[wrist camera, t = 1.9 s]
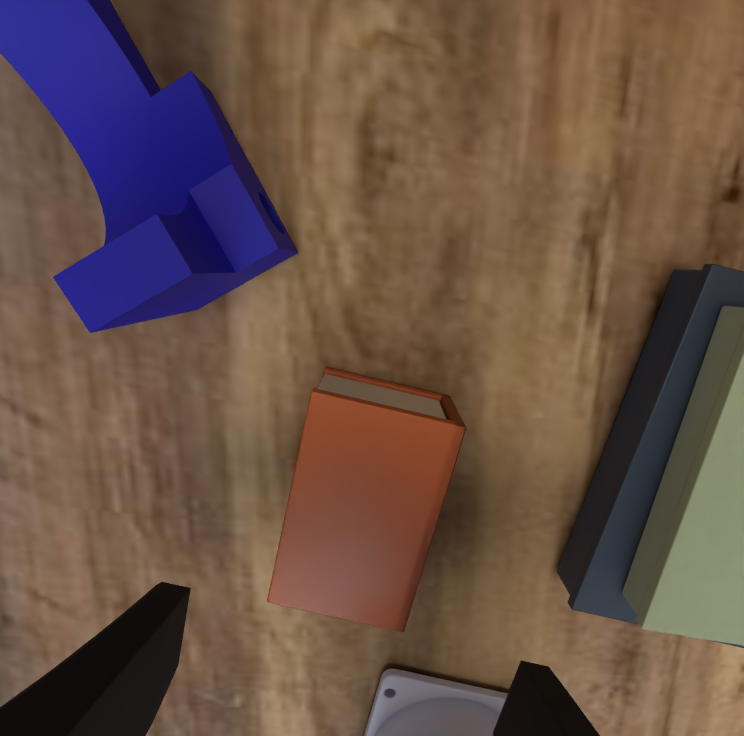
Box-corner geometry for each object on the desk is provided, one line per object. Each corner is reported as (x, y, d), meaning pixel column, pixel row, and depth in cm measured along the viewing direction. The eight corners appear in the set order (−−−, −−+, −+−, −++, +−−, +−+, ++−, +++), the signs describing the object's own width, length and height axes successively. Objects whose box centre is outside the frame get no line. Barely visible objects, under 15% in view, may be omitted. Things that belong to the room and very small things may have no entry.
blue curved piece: (298, 252, 16) (246, 242, 10) (196, 309, 16) (90, 333, 10) (107, -98, 13) (-107, -382, 8) (-3, -17, 14) (-281, -222, 8)
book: (400, 567, 19) (404, 633, 15) (287, 542, 18) (266, 602, 15) (450, 396, 17) (466, 427, 13) (325, 366, 17) (311, 390, 13)
